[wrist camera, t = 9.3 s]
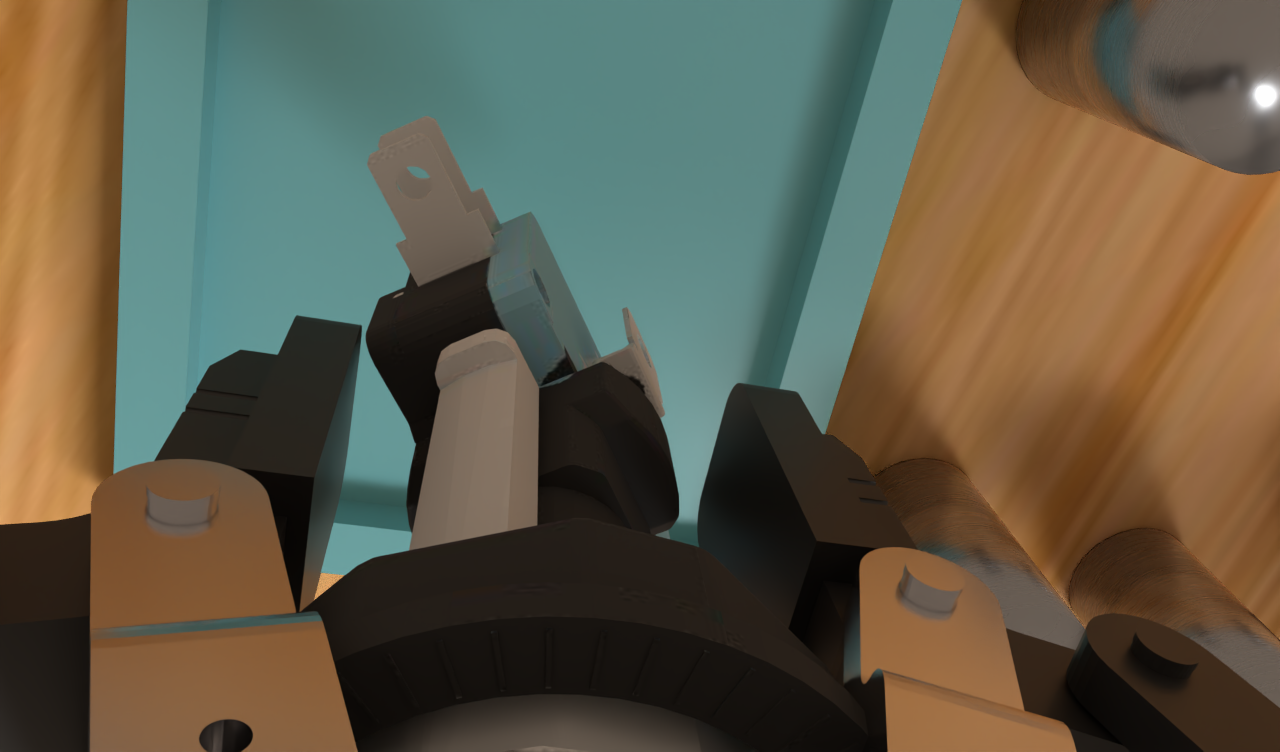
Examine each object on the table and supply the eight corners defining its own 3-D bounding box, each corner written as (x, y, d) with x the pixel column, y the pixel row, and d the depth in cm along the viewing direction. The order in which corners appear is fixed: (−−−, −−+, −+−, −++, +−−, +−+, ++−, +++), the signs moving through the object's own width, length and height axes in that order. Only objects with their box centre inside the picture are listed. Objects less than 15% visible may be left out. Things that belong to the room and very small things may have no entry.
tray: (972, -144, 19) (1008, -145, 18) (751, 579, 25) (765, 620, 24) (167, -354, 17) (137, -373, 15) (134, 509, 23) (111, 550, 21)
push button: (228, 194, 14) (-321, 786, 5) (607, 29, 14) (724, 366, 5) (459, 577, 17) (362, 1388, 8) (779, 452, 17) (1060, 1169, 8)
